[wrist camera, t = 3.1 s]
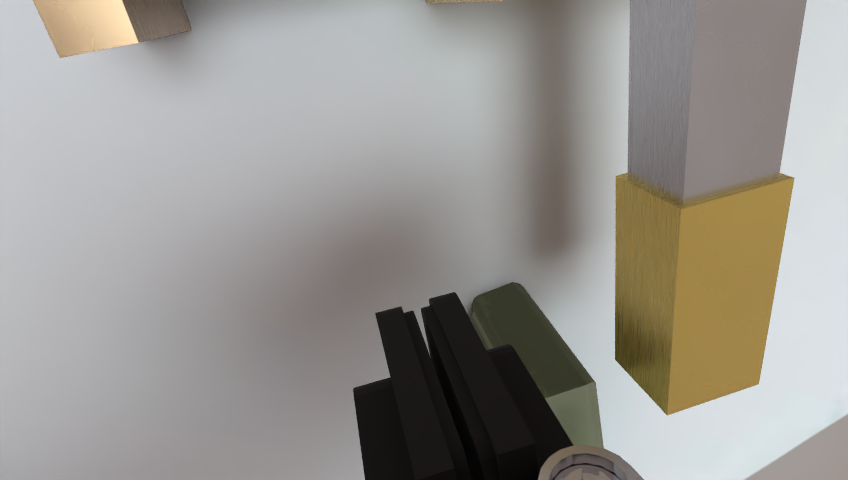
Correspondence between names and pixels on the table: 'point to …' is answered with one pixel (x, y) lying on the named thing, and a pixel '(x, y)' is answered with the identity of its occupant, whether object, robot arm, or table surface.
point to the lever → (703, 193)
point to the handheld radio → (541, 358)
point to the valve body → (117, 22)
